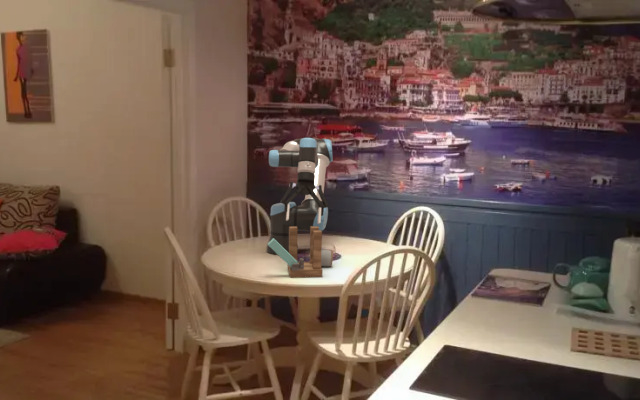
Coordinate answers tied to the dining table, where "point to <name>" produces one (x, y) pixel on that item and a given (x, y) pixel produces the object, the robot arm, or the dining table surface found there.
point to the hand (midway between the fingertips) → (303, 221)
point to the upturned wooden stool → (314, 265)
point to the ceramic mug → (326, 258)
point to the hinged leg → (282, 252)
